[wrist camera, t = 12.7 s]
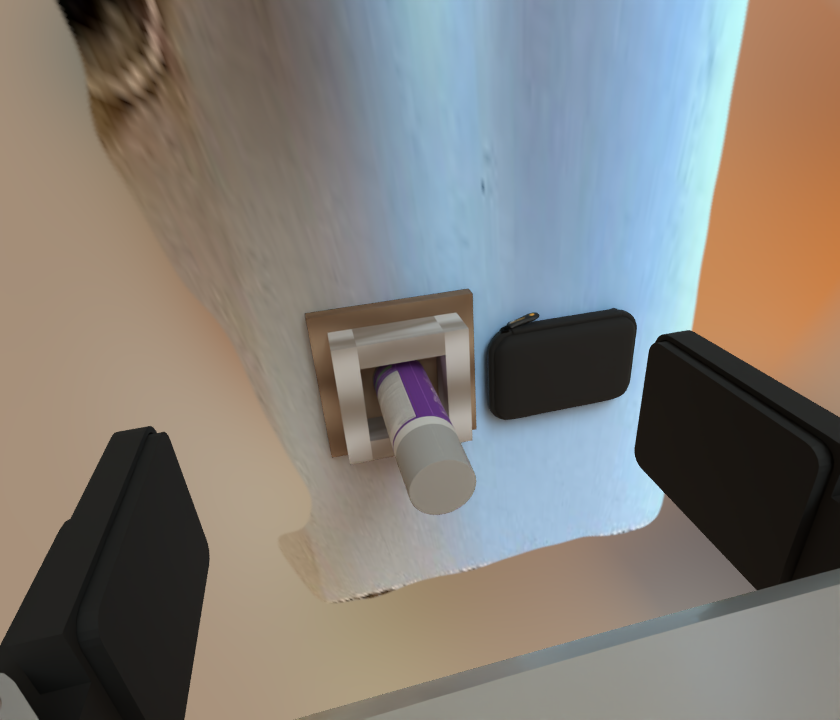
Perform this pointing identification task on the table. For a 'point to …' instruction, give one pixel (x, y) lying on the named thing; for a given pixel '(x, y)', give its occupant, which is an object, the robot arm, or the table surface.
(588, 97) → the table surface
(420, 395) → the container
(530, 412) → the carrying case or bag
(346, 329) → the mount
